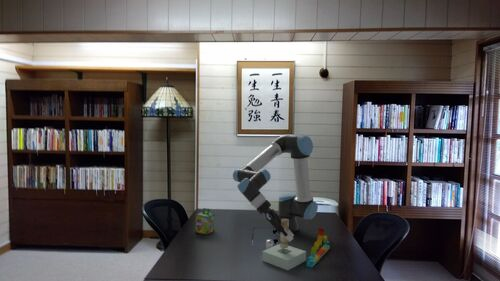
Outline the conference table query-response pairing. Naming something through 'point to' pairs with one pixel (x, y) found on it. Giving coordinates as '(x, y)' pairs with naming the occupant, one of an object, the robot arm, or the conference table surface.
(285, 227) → the tall beech pin
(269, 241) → the short metal pin
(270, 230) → the conference table surface
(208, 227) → the chalk box
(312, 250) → the chart
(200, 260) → the conference table surface
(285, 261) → the hole block
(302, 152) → the robot arm
